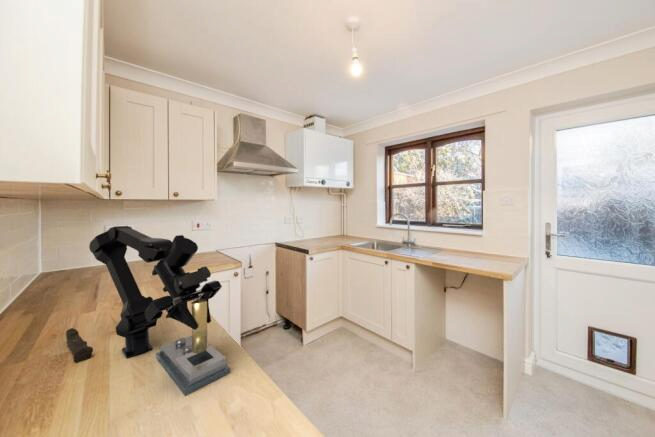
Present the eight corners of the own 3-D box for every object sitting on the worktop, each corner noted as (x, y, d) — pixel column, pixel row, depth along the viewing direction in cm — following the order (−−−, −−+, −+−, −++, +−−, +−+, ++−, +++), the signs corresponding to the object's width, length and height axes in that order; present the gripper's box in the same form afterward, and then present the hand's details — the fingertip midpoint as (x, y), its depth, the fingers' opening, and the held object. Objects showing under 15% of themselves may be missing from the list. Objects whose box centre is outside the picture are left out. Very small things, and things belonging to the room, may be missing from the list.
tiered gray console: (156, 358, 73) (155, 343, 73) (196, 343, 81) (195, 329, 81) (184, 395, 58) (184, 377, 58) (229, 372, 67) (229, 356, 67)
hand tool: (93, 358, 73) (93, 343, 73) (73, 365, 70) (73, 348, 70) (81, 337, 85) (81, 324, 85) (64, 342, 82) (64, 328, 81)
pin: (188, 351, 64) (188, 303, 64) (199, 344, 68) (199, 298, 67) (199, 354, 63) (199, 305, 63) (210, 347, 67) (209, 300, 66)
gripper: (151, 266, 58) (184, 323, 54) (217, 253, 75) (246, 295, 71) (131, 294, 61) (161, 350, 57) (198, 276, 78) (225, 317, 74)
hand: (203, 325), depth 65 cm, fingers closed on pin, 3 cm apart
